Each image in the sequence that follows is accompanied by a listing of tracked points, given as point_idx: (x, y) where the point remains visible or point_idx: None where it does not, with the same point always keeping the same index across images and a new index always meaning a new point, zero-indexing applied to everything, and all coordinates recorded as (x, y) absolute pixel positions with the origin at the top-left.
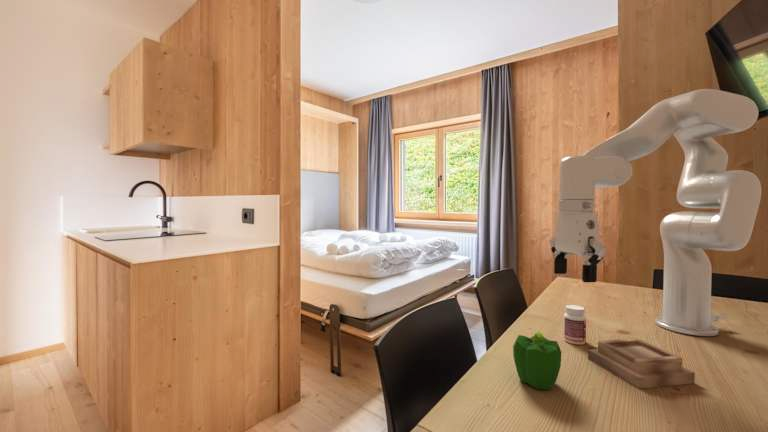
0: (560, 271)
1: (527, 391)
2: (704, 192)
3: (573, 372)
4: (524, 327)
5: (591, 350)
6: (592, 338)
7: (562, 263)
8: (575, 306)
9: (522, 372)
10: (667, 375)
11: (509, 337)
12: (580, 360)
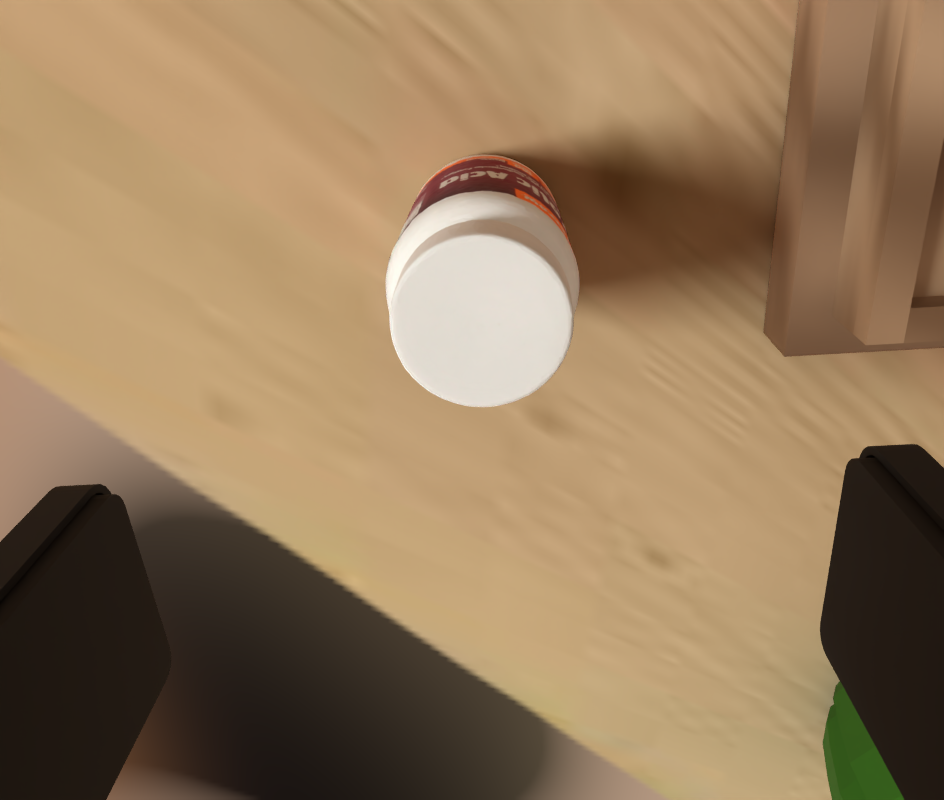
0: (139, 627)
1: None
2: None
3: None
4: (205, 436)
5: (803, 345)
6: (443, 32)
7: (34, 727)
8: (446, 297)
9: None
10: None
11: (390, 597)
12: (767, 389)
